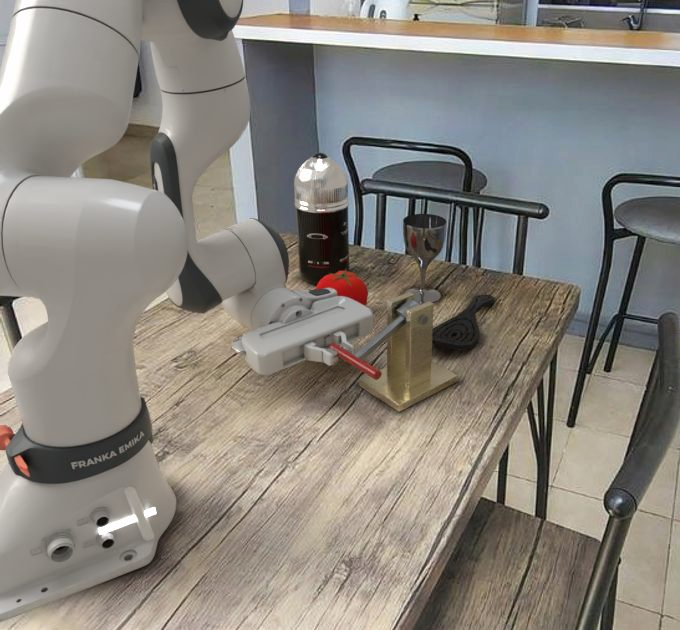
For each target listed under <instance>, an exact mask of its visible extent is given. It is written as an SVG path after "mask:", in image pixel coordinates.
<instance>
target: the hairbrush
mask: <svg viewBox="0 0 680 630" xmlns="http://www.w3.org/2000/svg"><path fill="white" fill-rule="evenodd" d="M494 302H495V296H493V295H491V294H478V295H474V296H473V298H472V300H471V302H469V304H468V305H467V306H466V307H465V308H464V309H463V310H462V311H461V312H460V311H459V312H457V313H456V315H455V313H452V315H450V316H449V317H448V318H447V319H446V320H445V319H443V321H442V320H441V321H440V323H439V324H438V323H436V325H433V333H432V346H437V347H441V348H445V349H452V350H457V351H459V350H462V351H463V350H465V351H466V350H472V348H473V347H474V346H475V345H477V344H478V343H479V337H480V328H479V327H480V326H479V324H480V323H479V322H478V319H479V318H478V317H477V314H478V312H479V311H481V310H482V309H483V308H485V307H486V306H487V307H488V306H490V305H492V304H493V303H494ZM454 315H455V316H454Z"/></svg>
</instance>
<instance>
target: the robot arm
mask: <svg viewBox="0 0 680 630" xmlns="http://www.w3.org/2000/svg"><path fill="white" fill-rule="evenodd" d="M243 7H244V0H15V1H14V6H13V10H12V15H11V20H10V25H9V29H8V34H7V39H6V43H5V48H4V51H3V56H2V59H1V64H0V297H1V296H3V297H18V298H19V297H21V298H33V299H38V300H39V301H41V303H42V304H43V306H44V308H45V310H46V316H47V321H46V322H44V323H43V324H40V325H39V326H37V327H35V328H33V329H32V330H30V331H29V332H27V333H26V334H25V335H24V336H22V338H21V339H19V341H18V342H17V343H16V345H15V346H14V348H13V349H12V352H11V354H10V357H9V360H8V364H7V376H8V378H9V382H10V385H11V389H12V392H13V396H14V400H15V402H16V406H17V409H18V413H19V416H20V419H21V425H20V427H19V428H18V429H17V431H16V433H14V430H13V429H12V427H11V426H8V425H6V424H1V425H0V451H5V454H6V458H7V462H8V463H7V464H6V465H5V466H4V467H3V468H2V469H1V470H0V623H3V622H5V621H8V620H10V619H13V618H15V617H18V616H21V615H23V614H26V613H29V612H31V611H33V610H37V609H39V608H42V607H43V606H47V605H49V604H51V603H54V602H56V601H59V600H61V599H65V598H67V597H69V596H72V595H74V594H77V593H79V592H82V591H85V590H87V589H90V588H92V587H95V586H98V585H100V584H103V583H105V582H108V581H110V580H113V579H115V578H118V577H120V576H121V577H122V576H123V575H125V574H129V573H131V572H133V571H136V570H139V569H141V568H144V567H146V566H147V565H149V564H150V563H151V562H152V561H153V560H154V558H155V555H156V553H157V552H156V551H157V549H158V548H157V547H158V543H159V541H160V539H161V537H162V535H163V534H164V533H165V531H167V529H168V528H169V526H170V525H171V523H172V521H173V519H174V517H175V515H176V511H177V497H176V494H175V492H174V490H173V488H172V487H171V486H170V484H169V483H168V481H167V479H166V477H165V475H164V473H163V471H162V469H161V467H160V464H159V461H158V459H157V455H156V453H155V451H154V447H153V443H154V436H153V423H152V419H151V415H150V410H149V408H148V405H147V401H146V400H145V397H143V396H141V392H140V386H139V379H138V373H137V365H136V358H135V335H136V330H137V326H138V324H139V321H140V319H141V317H142V315H143V314H144V312H145V311H146V309H147V308H148V307H149V306H150V305H151V304H152V303H153V302H154V301H155V300H157V298H159V297H160V296H162V295H163V294H165V293H166V296H167V297H168V299H169V300H170V302H171V303H172V304H173V305H174V306H175V307H176V308H179V309H181V310H183V311H187V312H190V313H196V314H203V315H204V314H206V313H208V312H210V311H211V310H213V309H214V308H216V307H217V306H220V307H221V308H222V309H223V310H224V311H225V312H226V313H227V314H228V315H229V316H230V317H231V318H232V319H233V320H234V321H235V322H237V323H238V324H240V325H241V326H242V327H243V328H245V329H247V330H249V331H247V332H245V333H244V334H241V335H239V336H236V337H235V339H234V340H233V341H232V342H231V343H230V347H231V350H232V351H233V352H234V353H236V354H238V355H239V356H242V357H243V359H244V361H245V362H246V363H247V364H248V366H249V367H250V368H251V369H252V370H253V371H254V372H255V373H256V374H258V375H260V376H270V375H273V374H275V373H278V372H281V371H283V370H285V369H288V368H290V367H293V366H295V365H298V364H300V363H302V362H305V361H309V362H316V363H317V362H318V363H324V364H325V365H327V366H329V367H330V366H333V365H336V364H338V363H339V362H340V359H339V358H340V357H339V355H338V352H337V351H335V350H334V349H332V348H329V349H328V347H329V345H330V344H331V343H335V344H337V345H339V346H340V347H342V348H344V349H345V350H347V351H348V352H350V353H352V354H353V355H354V354H355V347H354V345H353V344H352V342H354V341H356V340H357V341H358V340H359V339H361V338H364V337H367V336H369V335H371V334H373V332H374V327H375V326H374V324H375V321H374V320H375V319H374V312H373V311H372V310H371V308H369V307H368V306H367V305H366V306H364V305H362V304H361V303H359V302H357V301H355V300H353V299H351V298H348V297H344V296H337V291H336V290H335V289H332V288H323V289H316V288H315V289H291V288H288V287H287V286H286V284H287V282H288V279H289V271H290V270H289V268H290V257H289V252H288V248H287V245H286V242H285V240H284V239H283V237H282V236H281V234H280V233H279V232H278V231H277V230H275V229H274V228H273V227H272V226H270V224H268V223H266V222H264V220H263V221H262V220H261V219H258V218H255V217H249V218H247V219H244V220H242V221H240V222H237V223H235V224H232V225H230V226H228V227H225V228H223V229H221V230H218V231H216V232H214V233H211V234H210V235H207V236H205V237H203V238H199V239H198V240H197V233H196V222H195V221H196V220H195V211H194V203H193V202H194V201H193V196H194V194H193V193H194V190H195V187H196V184H197V183H198V181H199V179H200V178H201V176H202V175H203V174H204V173H205V171H206V170H207V169H208V168H209V167H210V166H212V164H213V163H214V162H215V161H216V160H217V159H219V158H220V157H221V156H222V155H224V154H225V153H226V152H227V151H228V150H230V149H231V148H233V146H234V145H235V144H236V143H237V142H238V141H239V140H240V139H241V137H242V135H243V134H244V133H245V131H246V129H247V127H248V124H249V122H250V119H251V98H250V91H249V87H248V82H247V77H246V72H245V69H244V65H243V61H242V60H243V59H242V56H241V53H240V50H239V47H238V43H237V40H236V37H235V34H234V32H233V30H234V28H235V26H236V25H237V23H238V22H239V20H240V17H241V15H242V12H243ZM145 41H146V42H149V45H150V47H149V48H150V51H151V57H152V58H151V59H152V64H153V68H154V73H155V76H156V81H157V84H158V88H159V92H160V95H161V104H162V106H161V107H162V108H161V110H162V112H161V121H160V126H159V129H158V132H157V134H156V135H155V136H154V137H153V138H152V140H151V141H150V145H149V165H150V175H151V187H152V188H149V187H145V186H142V185H138V184H134V183H129V182H126V181H121V180H117V179H112V178H97V177H95V178H94V177H76V176H75V177H73V174H74V173H75V172H76V171H77V170H78V169H79V168H80V167H81V166H82V165H83V164H84V163H86V162H87V161H89V160H90V159H92V158H94V157H96V156H98V155H100V154H101V153H104V152H106V151H109V149H111V148H113V147H114V146H115V145H117V144H118V143H119V141H120V140H121V139H122V138H123V136H124V135H125V133H126V131H127V129H128V127H129V124H130V119H131V118H130V117H131V112H132V106H133V100H134V94H135V87H136V81H137V80H136V79H137V73H138V67H139V61H140V53H141V45H142V44H141V43H142V42H145Z"/></svg>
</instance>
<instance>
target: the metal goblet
mask: <svg viewBox="0 0 680 630" xmlns="http://www.w3.org/2000/svg"><path fill="white" fill-rule="evenodd" d="M446 236H447V219H446V218H444V217H443V216H440V215H436V214H432V213H431V214H430V213H414V214H410V215H407V216H405V217H404V218H403V219H402V237H403V244H404V247H405V251H406V252H407V253H408V255H410V257H411V258H412V259H413V261H415V263H416V264H417V266H418V269H419V276H420V286H419V287H418V286H417V287H412V288H409V289H407V290H405V292H404V293H403V294H406V293H409V292H411V293H413V294H414V301H415V302H417V303H419V304H420V305H421V304H423V303H426V302H428V301H429V302H432V303H433V304H434V303H436V302H438V301H440V299H441V298H442V295H441V293H440V291H438V290H436V289H434V288H430V287H426V274H427V270H428V267H429V265H430V264H431V263H432V262H433V261H434V260H435V259H436V258H437V257H438V256H439V255H440V254H441V252H442V250H443V248H444V244H445V240H446Z"/></svg>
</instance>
